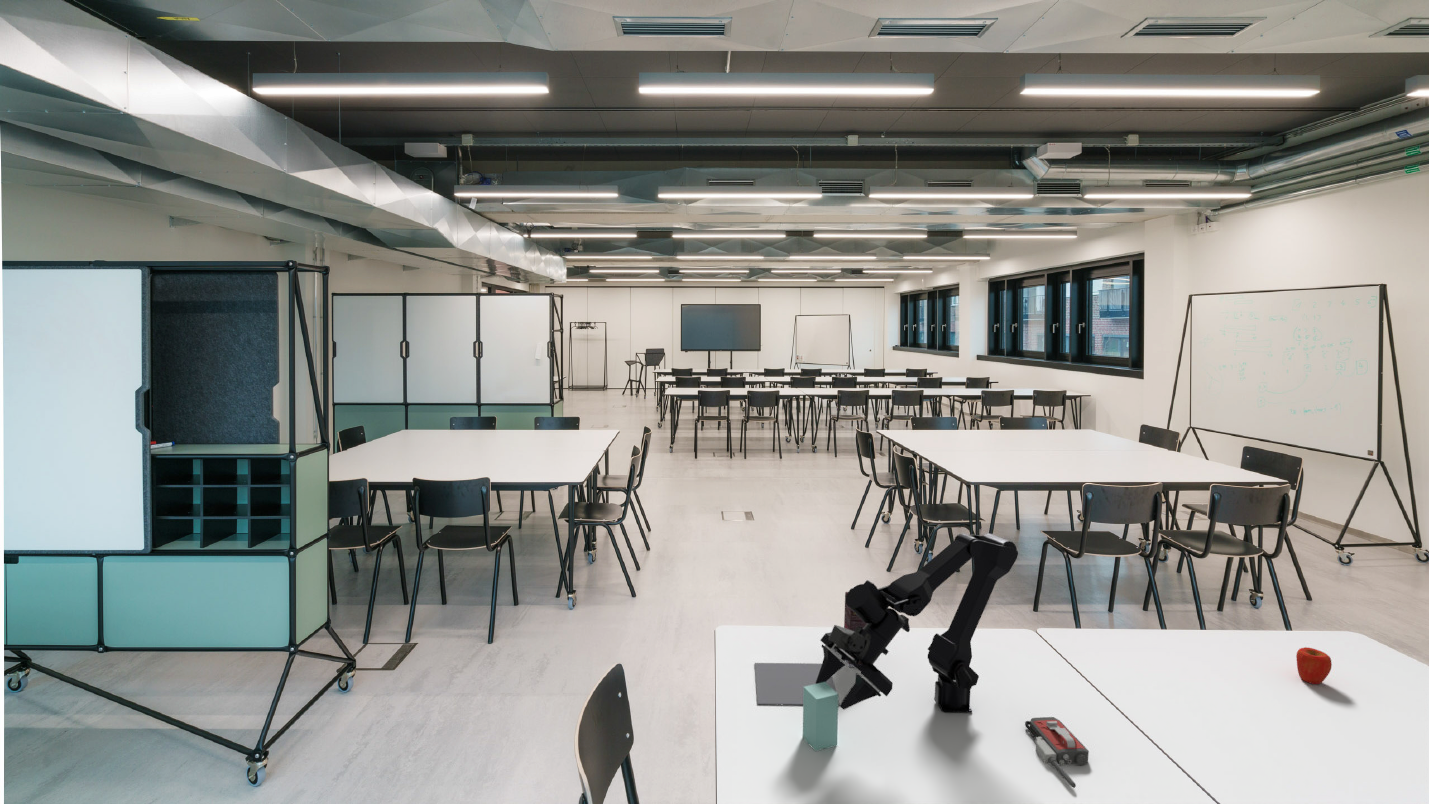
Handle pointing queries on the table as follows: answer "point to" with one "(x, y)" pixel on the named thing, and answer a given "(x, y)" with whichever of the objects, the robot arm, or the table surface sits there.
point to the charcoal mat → (785, 682)
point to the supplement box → (852, 622)
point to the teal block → (820, 715)
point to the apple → (1313, 665)
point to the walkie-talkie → (1057, 744)
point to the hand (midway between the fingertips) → (829, 696)
